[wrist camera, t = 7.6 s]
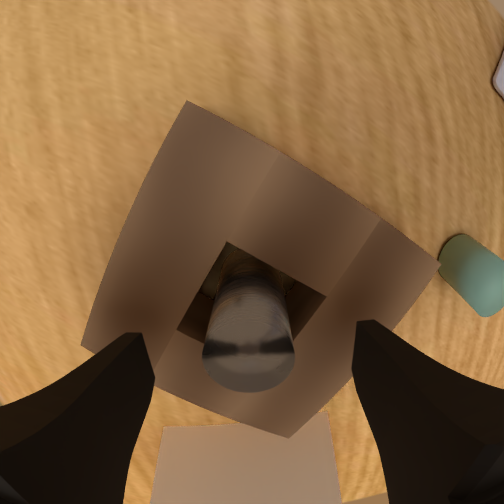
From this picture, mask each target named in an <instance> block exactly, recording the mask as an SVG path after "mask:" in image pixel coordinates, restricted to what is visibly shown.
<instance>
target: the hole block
mask: <svg viewBox="0 0 504 504" xmlns="http://www.w3.org/2000/svg"><path fill="white" fill-rule="evenodd" d="M226 242H229V243H231V244H233V245H234V246H236V247H238V248H240V249H242V250H243V251H245V252H247V253H249V254H251V255H252V256H254V257H256V258H258V259H260V260H261V261H263V262H265V263H267V264H269V265H271V266H272V267H274V268H276V269H278V270H280V271H281V272H283V273H285V274H287V275H289V276H290V277H292V278H294V279H296V280H297V282H296V283H295V285H294V286H293V288H292V289H291V290H290V292H289V293H288V295H287V296H286V298H285V301H286V307H287V312H288V318H289V323H290V329H291V334H292V340H293V346H294V351H295V363H294V367H293V369H292V371H291V373H290V374H289V376H288V377H287V378H286V379H285V380H284V381H283V382H281V383H280V384H279V385H277V386H275V387H273V388H271V389H269V390H265V391H261V392H255V393H244V392H237V391H233V390H230V389H227V388H225V387H223V386H221V385H219V384H218V383H217V382H215V381H214V380H213V379H212V378H211V377H210V376H209V375H208V373H207V372H206V370H205V368H204V365H203V361H202V351H203V347H204V343H205V338H206V334H207V329H208V325H209V321H210V317H211V312H212V308H213V304H214V300H212V299H210V298H208V297H206V296H205V295H203V294H201V293H199V292H198V290H199V288H200V287H201V285H202V283H203V281H204V280H205V278H206V276H207V275H208V273H209V271H210V269H211V268H212V266H213V264H214V262H215V261H216V259H217V257H218V256H219V254H220V252H221V250H222V249H223V247H224V245H225V244H226ZM440 266H441V263H439V262H438V261H437V260H436V259H435V258H433V257H432V256H431V255H430V254H428V253H427V252H426V251H424V250H423V249H422V248H421V247H419V246H418V245H417V244H415V243H414V242H413V241H412V240H410V239H409V238H408V237H406V236H405V235H404V234H402V233H401V232H400V231H398V230H397V229H396V228H394V227H393V226H392V225H390V224H389V223H388V222H386V221H385V220H383V219H382V218H381V217H379V216H378V215H376V214H375V213H374V212H372V211H371V210H369V209H368V208H367V207H365V206H364V205H362V204H361V203H359V202H358V201H357V200H355V199H354V198H352V197H351V196H349V195H348V194H346V193H345V192H343V191H342V190H340V189H339V188H337V187H336V186H334V185H333V184H331V183H330V182H328V181H327V180H325V179H324V178H322V177H321V176H319V175H317V174H316V173H314V172H313V171H311V170H310V169H308V168H306V167H305V166H303V165H302V164H300V163H298V162H297V161H295V160H294V159H292V158H290V157H289V156H287V155H285V154H284V153H282V152H280V151H279V150H277V149H275V148H274V147H272V146H270V145H269V144H267V143H265V142H263V141H262V140H260V139H258V138H256V137H255V136H253V135H251V134H249V133H248V132H246V131H244V130H242V129H240V128H239V127H237V126H235V125H233V124H231V123H230V122H228V121H226V120H224V119H222V118H220V117H218V116H216V115H215V114H213V113H211V112H209V111H207V110H205V109H203V108H201V107H199V106H197V105H195V104H193V103H191V102H189V101H186V102H185V104H184V106H183V108H182V109H181V111H180V113H179V115H178V116H177V118H176V120H175V122H174V124H173V125H172V127H171V129H170V131H169V133H168V135H167V136H166V138H165V140H164V142H163V144H162V146H161V148H160V150H159V152H158V154H157V156H156V157H155V159H154V161H153V163H152V165H151V167H150V169H149V171H148V174H147V176H146V178H145V180H144V182H143V184H142V186H141V188H140V190H139V192H138V194H137V197H136V199H135V201H134V203H133V205H132V208H131V210H130V212H129V214H128V217H127V219H126V221H125V224H124V226H123V228H122V231H121V233H120V235H119V238H118V240H117V243H116V245H115V248H114V250H113V253H112V255H111V258H110V260H109V263H108V265H107V268H106V271H105V273H104V276H103V279H102V281H101V284H100V287H99V290H98V293H97V296H96V298H95V301H94V304H93V307H92V310H91V313H90V316H89V319H88V322H87V326H86V329H85V332H84V335H83V339H82V342H81V346H83V347H85V348H86V349H88V350H89V351H91V352H93V353H95V354H97V353H98V352H99V351H101V350H102V349H103V348H105V347H106V346H107V345H109V344H110V343H111V342H113V341H114V340H115V339H117V338H118V337H120V336H121V335H123V334H124V333H126V332H142V334H143V338H144V341H145V345H146V348H147V352H148V355H149V358H150V362H151V365H152V368H153V371H154V375H155V382H154V386H156V387H158V388H160V389H162V390H164V391H166V392H169V393H171V394H173V395H175V396H177V397H179V398H182V399H184V400H186V401H188V402H191V403H193V404H195V405H198V406H200V407H202V408H205V409H207V410H210V411H212V412H215V413H217V414H220V415H222V416H225V417H227V418H230V419H232V420H235V421H238V422H241V423H243V424H246V425H249V426H252V427H255V428H257V429H260V430H263V431H266V432H269V433H272V434H276V435H279V436H282V437H285V438H288V439H289V438H290V437H291V436H292V435H293V434H295V433H296V432H297V431H298V430H299V429H300V428H301V427H302V426H303V425H304V424H305V423H307V422H308V421H309V420H310V419H311V418H312V417H313V416H314V415H315V414H316V413H317V412H318V411H319V410H320V409H321V408H322V407H323V406H324V405H325V404H326V403H327V402H328V401H329V400H330V399H331V398H332V397H333V396H334V395H335V394H336V393H337V392H338V391H339V390H340V389H341V388H342V387H343V386H344V385H345V384H346V383H347V382H348V381H349V380H350V379H351V377H352V376H353V374H352V370H351V366H352V358H353V350H354V342H355V333H356V323H357V321H363V320H371V319H374V320H376V321H377V322H379V323H380V324H382V325H383V326H385V327H386V328H388V329H389V330H390V331H392V330H393V329H394V328H395V327H396V325H397V324H398V323H399V322H400V320H401V319H402V318H403V317H404V315H405V314H406V313H407V311H408V310H409V309H410V307H411V306H412V305H413V304H414V302H415V301H416V300H417V298H418V297H419V295H420V294H421V293H422V291H423V290H424V289H425V287H426V286H427V284H428V283H429V282H430V280H431V279H432V277H433V276H434V274H435V273H436V272H437V270H438V269H439V267H440Z"/></svg>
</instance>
